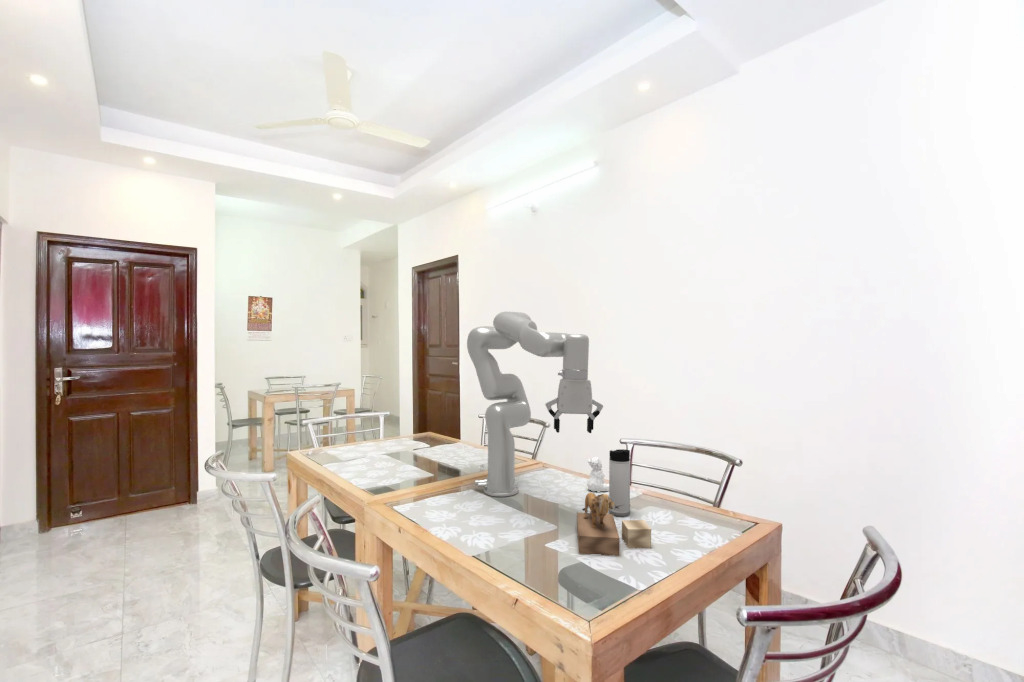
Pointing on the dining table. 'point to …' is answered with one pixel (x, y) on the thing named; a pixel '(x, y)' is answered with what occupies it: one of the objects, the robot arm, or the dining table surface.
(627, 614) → the dining table surface
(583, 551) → the walnut block
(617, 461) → the travel mug
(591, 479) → the seated beast figurine
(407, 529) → the dining table surface
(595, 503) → the lion figurine
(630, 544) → the oak block
